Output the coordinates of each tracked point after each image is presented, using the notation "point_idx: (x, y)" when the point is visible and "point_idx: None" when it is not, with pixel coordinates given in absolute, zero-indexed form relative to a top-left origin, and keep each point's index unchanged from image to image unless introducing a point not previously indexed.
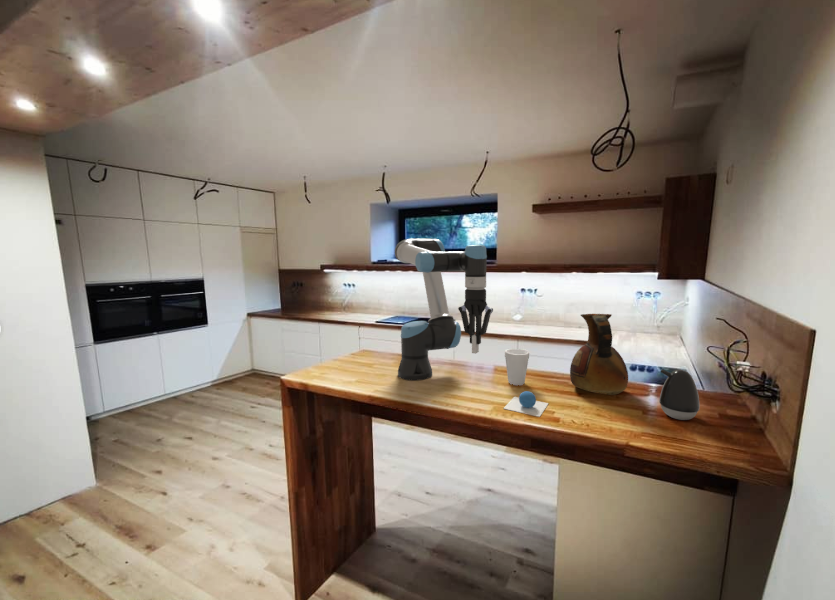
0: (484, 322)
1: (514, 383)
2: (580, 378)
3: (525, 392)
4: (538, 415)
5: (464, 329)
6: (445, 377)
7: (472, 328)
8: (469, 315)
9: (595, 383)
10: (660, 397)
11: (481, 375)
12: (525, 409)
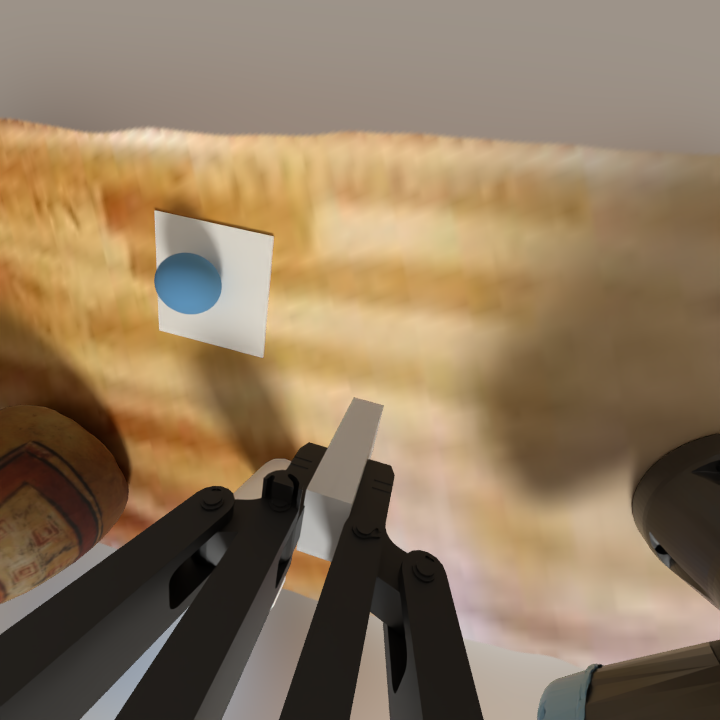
0: (47, 635)
1: (283, 462)
2: (54, 444)
3: (174, 282)
4: (159, 217)
5: (450, 602)
6: (560, 493)
7: (322, 591)
8: None
9: (17, 417)
10: None
11: (413, 529)
12: (205, 253)
